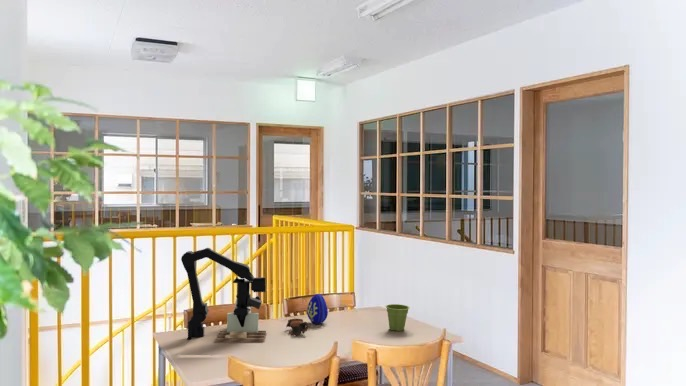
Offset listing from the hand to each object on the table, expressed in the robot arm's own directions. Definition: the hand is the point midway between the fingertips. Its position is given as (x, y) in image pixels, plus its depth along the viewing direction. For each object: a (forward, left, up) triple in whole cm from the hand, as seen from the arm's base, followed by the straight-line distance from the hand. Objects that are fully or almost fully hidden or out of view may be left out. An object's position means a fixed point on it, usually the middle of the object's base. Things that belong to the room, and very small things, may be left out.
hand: (242, 326), depth 246 cm
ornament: (+35, +26, -5) cm, 44 cm away
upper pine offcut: (-1, -8, -2) cm, 9 cm away
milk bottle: (-2, +17, -5) cm, 17 cm away
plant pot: (+74, +14, -5) cm, 75 cm away
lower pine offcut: (-2, -8, -4) cm, 10 cm away
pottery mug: (+25, +6, -5) cm, 26 cm away
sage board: (0, 0, -4) cm, 4 cm away
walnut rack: (0, -4, -5) cm, 6 cm away
